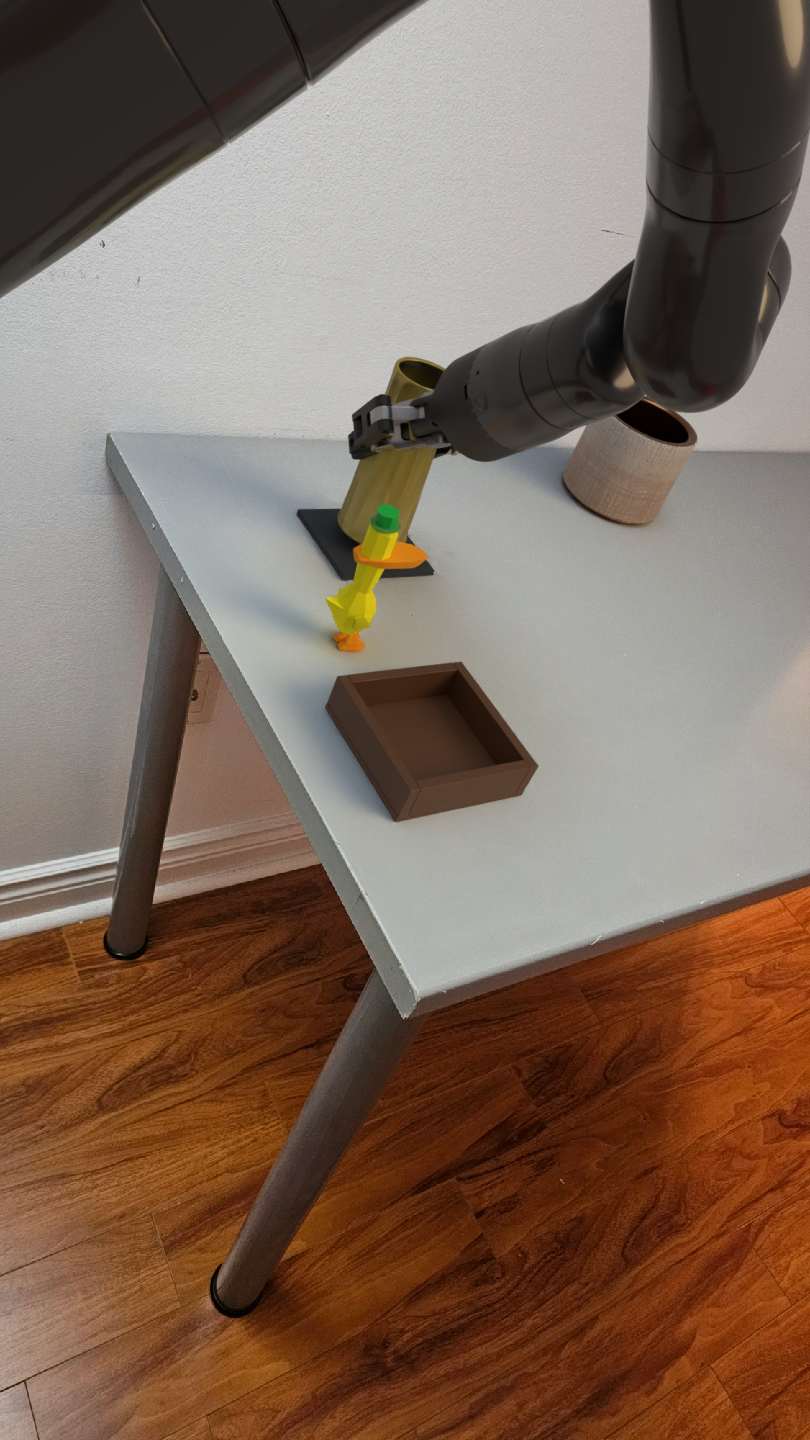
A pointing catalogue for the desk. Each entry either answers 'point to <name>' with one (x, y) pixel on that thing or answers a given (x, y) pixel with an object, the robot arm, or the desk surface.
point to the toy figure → (370, 576)
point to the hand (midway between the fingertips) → (386, 448)
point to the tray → (429, 739)
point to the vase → (392, 461)
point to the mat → (346, 545)
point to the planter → (630, 462)
